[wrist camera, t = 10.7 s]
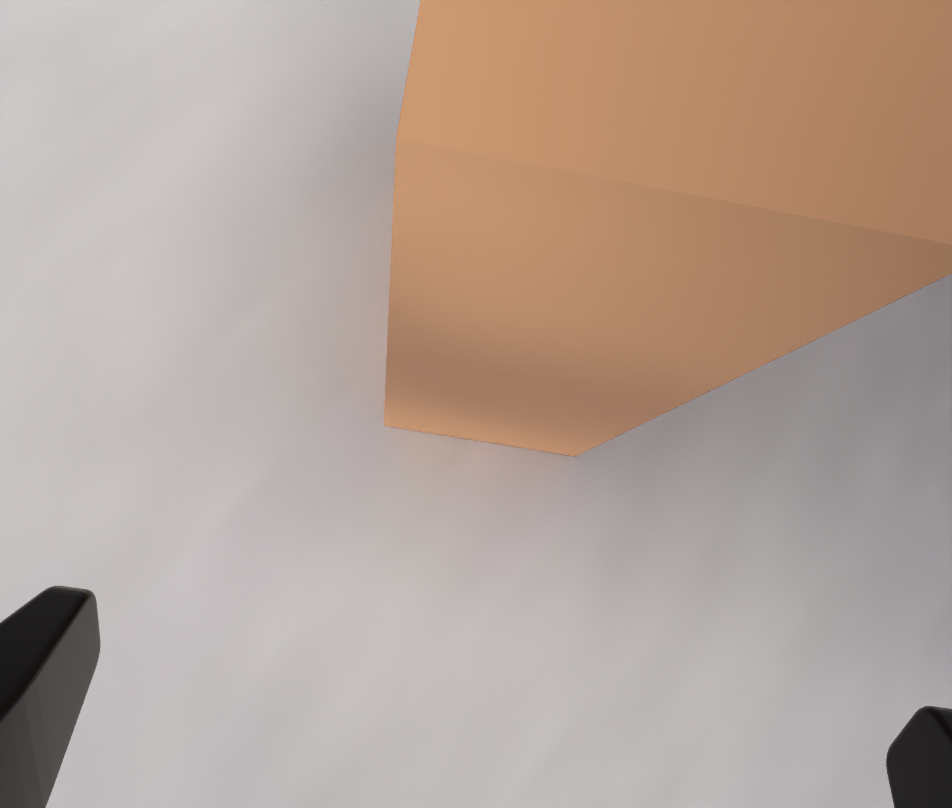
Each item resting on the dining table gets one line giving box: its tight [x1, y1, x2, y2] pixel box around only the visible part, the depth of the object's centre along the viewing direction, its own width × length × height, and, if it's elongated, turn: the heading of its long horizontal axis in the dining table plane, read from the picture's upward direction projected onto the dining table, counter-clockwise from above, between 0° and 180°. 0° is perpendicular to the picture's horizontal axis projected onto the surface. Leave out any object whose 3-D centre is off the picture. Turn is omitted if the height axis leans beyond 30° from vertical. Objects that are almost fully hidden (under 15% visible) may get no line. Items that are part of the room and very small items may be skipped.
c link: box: [384, 0, 952, 456], centre depth 12 cm, size 6×4×12 cm, turn 172°
